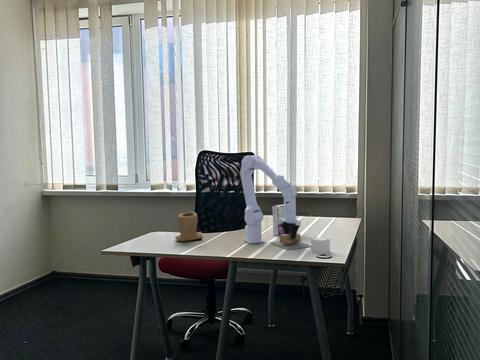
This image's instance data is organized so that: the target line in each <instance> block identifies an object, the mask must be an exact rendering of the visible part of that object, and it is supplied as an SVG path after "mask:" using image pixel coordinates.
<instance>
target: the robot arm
mask: <svg viewBox="0 0 480 360" xmlns="http://www.w3.org/2000/svg"><path fill="white" fill-rule="evenodd" d="M255 170H260V171H262V172H263V174H265V175H266V176H267V177H268V178H269V179H270V180H271V182H272V185H274V187H276V188H277V190H279V192H281V195H282V198H283V204H284V218H280V222H283V223H281V226H282V228H283V231H284V234H291V239H295V238H296V234H298V230H299V228H300V227H301V224H302V222H301V221H302V220H299V219H297V212H296V211H297V203H296V202H297V200H296V196H297V194H298V189H297V187H296V186H295V185H292V183H290V182H289V181H287V180H286V179H285V176H284V175H281V174H277V173H276V172H274V170H273V169H272V168H271V167H270V166H269V165H268V164H267V162H266V161H265V160H264V158H262V157H261V156H259V155H258V154H255V155H245V156H244V157H243V158H242V160H241V166H240V170H239V171H240V173H239V174H240V179H241V184H242V189H243V194H244V200H245V206H246V208H245V210H244V221H245V223H246V225H245V226H244V238H243V242H246V243H249V244H257V243H265V240H262V221H263V220H264V213H263V212H262V210H261V208H260V205H258V203H257V196H256V193H255V186H254V182H253V176H252V175H253V173H254V172H255ZM291 224H292V225H291Z"/></svg>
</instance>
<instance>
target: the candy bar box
mask: <svg viewBox="0 0 480 360" xmlns="http://www.w3.org/2000/svg"><path fill="white" fill-rule="evenodd" d="M280 218H284V203H283V204H277V205H276V204H275V205H272V234H273V236H276V237H280V235H281V234H284V231H283V228H282V226H281V223H283V222H280ZM291 225H292V224H291Z"/></svg>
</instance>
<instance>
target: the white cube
mask: <svg viewBox="0 0 480 360" xmlns="http://www.w3.org/2000/svg"><path fill="white" fill-rule="evenodd" d="M310 245H311V247H310V249H311V250H310V252H311V253H315V254H316V253H317V254H318V255H319V254H320V255H321V254H322V255H323V254H325V253H326V254H327V253H330V252H331V240H330V238H327V237H321V236H319V237H313V238H310Z"/></svg>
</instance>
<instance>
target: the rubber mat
mask: <svg viewBox="0 0 480 360" xmlns="http://www.w3.org/2000/svg"><path fill="white" fill-rule="evenodd" d="M269 244H270V245H272V246H276V247H278V248H280V249H283V250H285V251H291V250H299V249H307V248H308V247H309V248H311V244H308V243H305V242H303V241H300V242H299V243H292V244H282V243H280V240H277V241H270V242H269Z"/></svg>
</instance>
